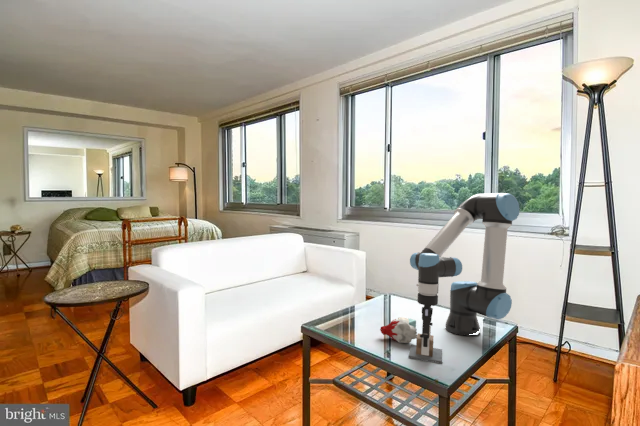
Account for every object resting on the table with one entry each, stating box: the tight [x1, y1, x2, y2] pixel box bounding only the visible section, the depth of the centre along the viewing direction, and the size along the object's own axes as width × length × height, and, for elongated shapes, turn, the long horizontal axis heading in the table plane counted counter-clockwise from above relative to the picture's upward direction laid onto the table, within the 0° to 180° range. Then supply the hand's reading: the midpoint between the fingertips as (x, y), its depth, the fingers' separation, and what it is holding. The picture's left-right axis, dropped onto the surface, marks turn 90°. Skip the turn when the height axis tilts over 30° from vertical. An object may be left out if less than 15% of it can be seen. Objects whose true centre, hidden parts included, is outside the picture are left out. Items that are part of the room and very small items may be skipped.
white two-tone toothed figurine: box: [379, 318, 418, 344], centre depth 149 cm, size 9×11×15 cm
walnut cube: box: [415, 332, 434, 357], centre depth 134 cm, size 6×6×6 cm
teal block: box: [408, 317, 417, 329], centre depth 164 cm, size 4×6×4 cm, turn 133°
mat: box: [408, 344, 443, 365], centre depth 134 cm, size 12×12×1 cm
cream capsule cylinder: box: [397, 316, 410, 323], centre depth 159 cm, size 5×5×6 cm
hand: (425, 348), depth 134 cm, fingers open, 13 cm apart
